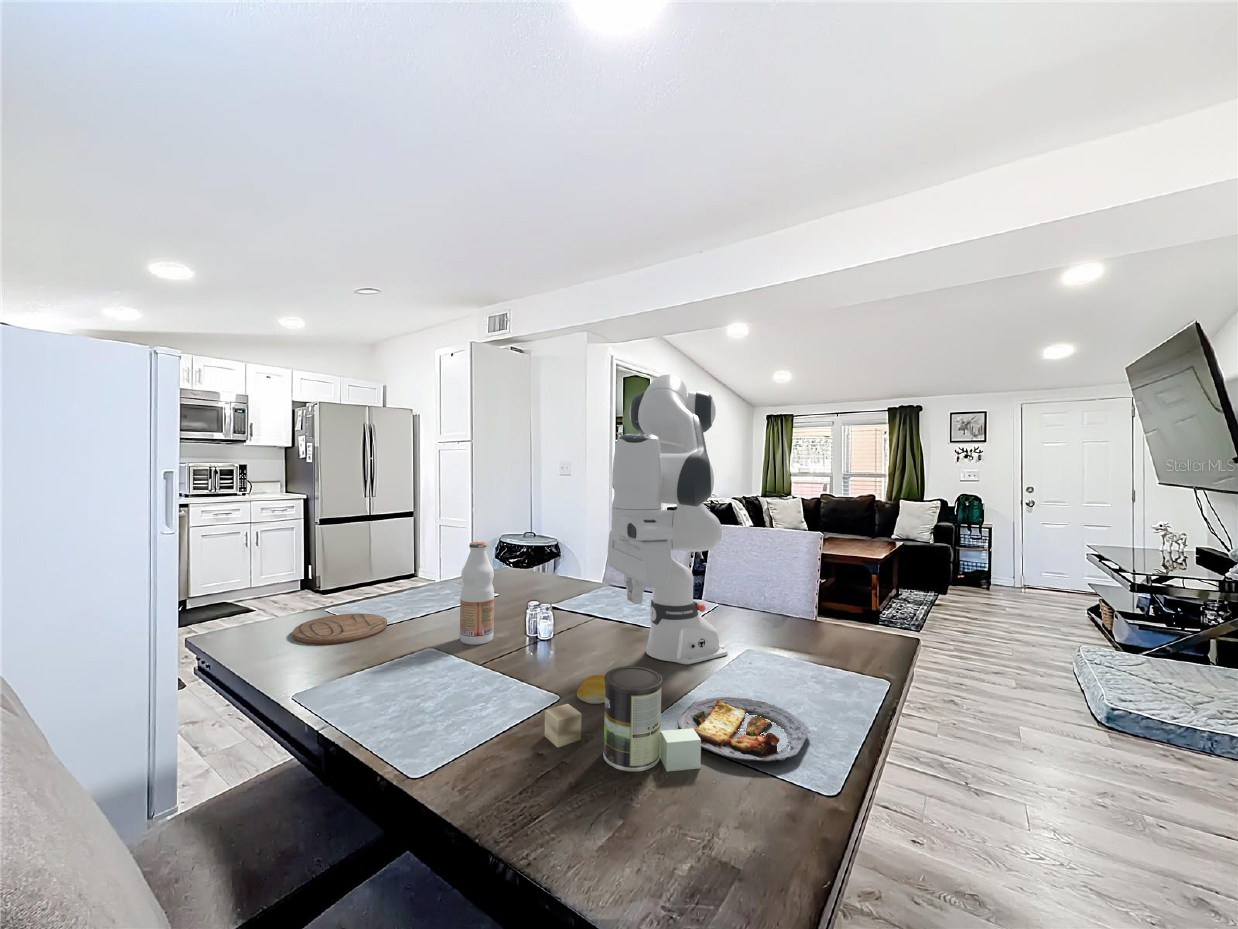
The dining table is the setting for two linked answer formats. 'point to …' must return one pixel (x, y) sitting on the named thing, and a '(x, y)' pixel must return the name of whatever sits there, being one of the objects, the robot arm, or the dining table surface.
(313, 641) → the trivet
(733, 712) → the food plate
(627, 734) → the coffee can
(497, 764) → the dining table surface
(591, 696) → the bread roll
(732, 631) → the dining table surface
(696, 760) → the pale green block
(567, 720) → the maple block
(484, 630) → the fruit juice
